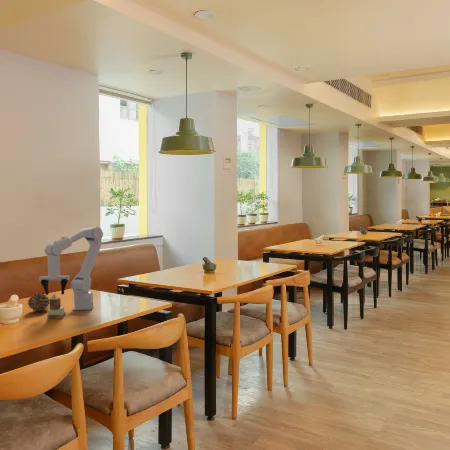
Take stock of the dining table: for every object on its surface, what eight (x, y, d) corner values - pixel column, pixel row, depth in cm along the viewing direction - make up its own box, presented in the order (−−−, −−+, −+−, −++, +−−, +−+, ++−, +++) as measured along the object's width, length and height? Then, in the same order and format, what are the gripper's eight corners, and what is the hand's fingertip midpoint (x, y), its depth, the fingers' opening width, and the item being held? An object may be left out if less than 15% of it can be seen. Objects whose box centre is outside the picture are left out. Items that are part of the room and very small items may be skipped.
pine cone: (41, 315, 244) (40, 295, 243) (23, 314, 245) (22, 295, 244) (62, 305, 265) (61, 287, 265) (45, 304, 267) (44, 286, 266)
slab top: (63, 311, 242) (63, 306, 241) (60, 314, 236) (60, 309, 236) (51, 312, 241) (51, 307, 241) (48, 315, 235) (47, 310, 235)
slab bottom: (65, 316, 242) (65, 311, 242) (62, 320, 235) (62, 314, 235) (51, 316, 242) (51, 311, 242) (47, 320, 235) (47, 315, 235)
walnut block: (60, 307, 239) (60, 297, 239) (58, 309, 235) (57, 299, 235) (52, 307, 239) (52, 297, 239) (49, 309, 235) (49, 299, 235)
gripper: (36, 269, 238) (37, 296, 238) (66, 268, 238) (67, 295, 239) (41, 266, 245) (42, 293, 246) (70, 266, 246) (71, 292, 246)
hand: (55, 294), depth 243 cm, fingers open, 7 cm apart
